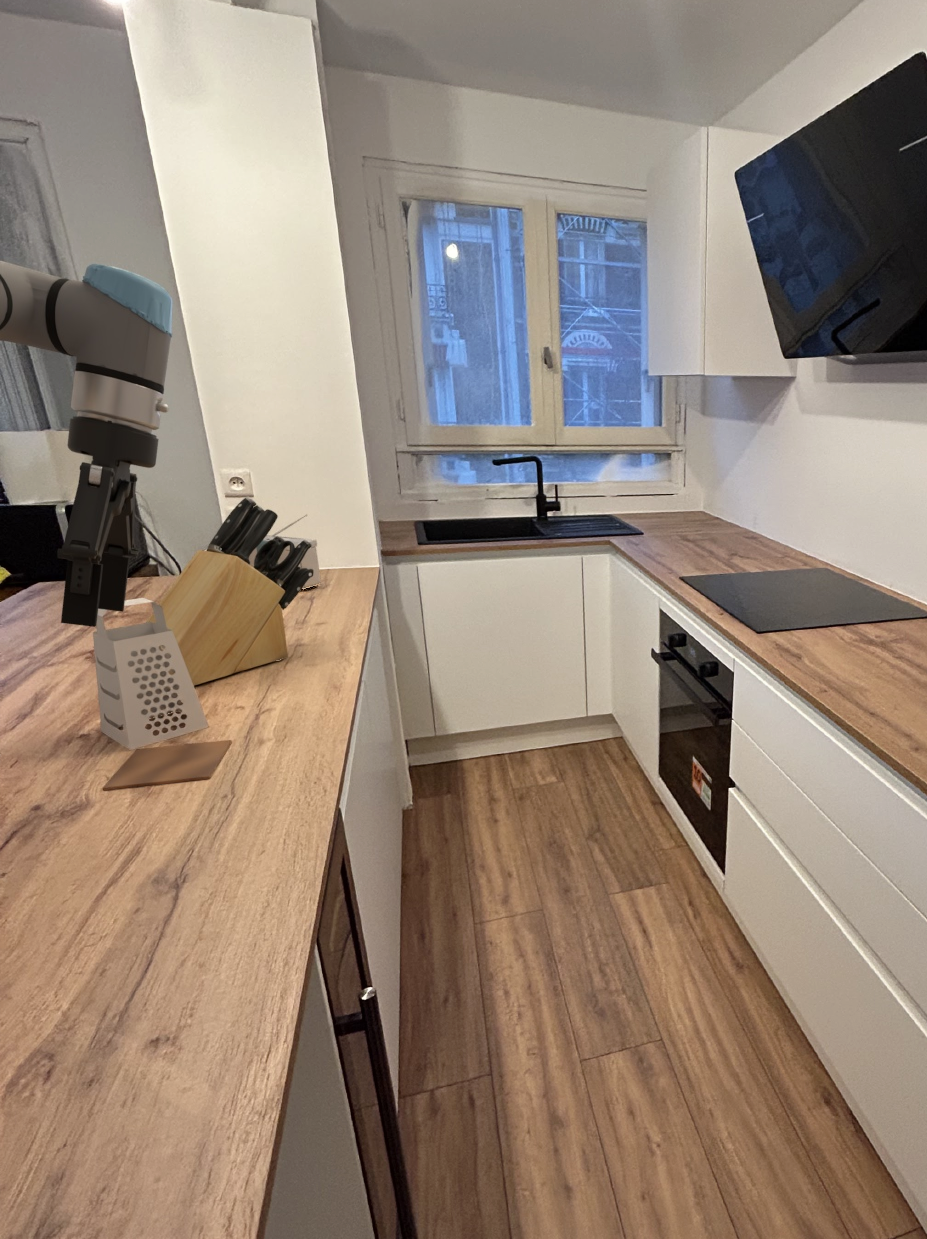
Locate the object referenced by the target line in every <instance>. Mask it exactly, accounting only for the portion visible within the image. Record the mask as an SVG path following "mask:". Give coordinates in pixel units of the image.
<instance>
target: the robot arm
mask: <svg viewBox="0 0 927 1239" xmlns="http://www.w3.org/2000/svg"><path fill="white" fill-rule="evenodd" d="M173 304H174V303H173V298H172V296H171V295H170V293H169V292H168V290H166V289H165V288H164V287H163V286H162V285H160V284H159V283H157V282H155V281H153V280H151V279H149V278H148V277H145V276H143V275H141V274H138V273H135V272H132V271H130V270H127V269H124V268H120V267H117V266H113V265H108V264H107V265H105V264H102V263H91V264H89V265H87V267H86V268H85V272H84V275H83V276H82V279H81V280H80V281H79V280H76V279H70V278H65V277H60V276H55V275H52V274H49V273H45V272H42V271H38V270H35V269H32V268H28V267H25V266H21V265H17V264H14V263H11V262H7V261H3V260H0V341H2V342H10V343H14V344H18V345H23V346H28V347H32V348H37V349H41V350H46V351H49V352H50V351H51V352H55V353H58V354H62V355H64V356H65V355H66V356H70V357H75V358H76V360H75V368H74V369H75V371H74V375H73V384H72V393H71V402H70V408H71V409H72V411H74V412H76V413H77V414H76V416H72V418H70V419H69V426H68V427H69V428H68V436H67V448H68V450H69V451H71V452H72V453H76V454H80V455H84V456H89V457H92V460H91V463H90V462H85V461H82V462H81V464H80V466H79V477H78V484H77V488H76V492H75V495H74V496H75V497H74V500H73V504H72V508H71V511H70V512H71V513H70V516H69V521H68V524H67V529H66V533H65V536H64V542H63V544H62V545H61V548H57V553H56V557H57V559H63V560H66V561H67V562H66V572H65V580H64V591H63V597H62V598H63V599H62V607H61V608H62V610H61V618H60V624H66V625H75V626H83V627H84V626H85V627H93V628H96V624H97V615H98V609H105V610H107V611H115V612H119V613H121V612H122V613H123V612H124V611H125V606H124V604H125V600H126V594H127V586H128V576H129V569H130V568H129V567H130V558H135V559H137V558H138V557H139V551H140V550H139V548H136V544H135V532H136V531H135V530H136V529H135V527H136V526H135V525H136V524H135V522H136V491H137V488H136V487H137V482H138V476H137V473H134V472H133V473H132V472H131V465H132V466H136V467H141V468H147V469H152V468H154V467H155V466H156V464H157V455H158V447H159V438H157V435H156V434H153V433H152V432H153V431H156V430H158V429H160V424H161V414H160V412H161V413H166V414H167V413H168V412H169V410H170V408H169V405H168V404H167V403H164V402H162V401H163V398H164V396H163V395H164V392H165V382H166V376H167V370H168V369H167V368H168V362H169V354H170V347H171V342H172V341H171V339H172V338H173V332H172V325H173V324H172V322H173Z"/></svg>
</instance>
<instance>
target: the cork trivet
mask: <svg viewBox="0 0 927 1239" xmlns="http://www.w3.org/2000/svg"><path fill="white" fill-rule="evenodd" d="M232 744H233V740H232V739H226V740H217V741H216V740H215V741H207V742H206V741H204V742H195V743H185V744H175V745H174V744H173V745H163V746H153V747H144V748H143V747H141V748H136V749H134V751H133V752H132V753H131V754H130V755H129V757H128V758H127V759H126V760H125V761H124V763H123V764H121V766H120V767H119V768H118V769H117V771H116V772H115V773H113V775H112V776H111V777H110V778H109V780H107V782H106V783H105V784H104V785H103V787H102V791H109V790H110V791H111V790H119V789H120V790H121V789H128V788H138V787H147V786H157V785H165V784H175V783H181V782H182V783H183V782H192V781H201V780H209V779H211V778H212V777H213V774H214V773H215V771H216V769H217V768H218V767H219V765H220V763H221V761H222V760H223V758H224V756H225V755H226V753H227V752H228V749H229V748H230V746H231V745H232ZM222 757H223V758H222ZM221 759H222V760H221Z"/></svg>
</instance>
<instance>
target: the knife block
mask: <svg viewBox="0 0 927 1239" xmlns="http://www.w3.org/2000/svg"><path fill="white" fill-rule="evenodd" d="M278 518H279V516H278V514H277V513H276V512H275V511H273V510H271V509H269V508H268V509H264V508H263V507H261V506H260V505H258V504H257V503H256V501H255V500H253V499H252V498H251V497H250V496H246V497H244V498H243V499H242V500H241V501H239V502H238V503H237V505H236V506H235V507H234V508H233V509H232V511H231V512H230V513H229V514H228V516H227V517H226V518H225V519H224V521H223V523H221V526H220V527H219V528H218V530H217V531H216V533H215V535H214V536H213V537H212V539H211V541H210V542H209V544H208V546H207V548H206V550H202V549H198V550H197V551H195V553H194V555H193V556H192V557H191V558H190V560H189V561H188V563H187V564H186V565H185V567H184V568H183V570H182V571H181V572H180V574H179V575H178V576H177V578H176V580H174V582H173V583H172V585H171V587H170V588H169V589H168V590H167V592H166V593H165V595H164V596H163V597H162V599H161V600H160V602H159V603H158V605H160V606H161V607H162V608H163V612H164V617H165V622H166V626H167V628H168V629H170V630H172V631H173V633H174V636H175V638H176V641H177V644H178V646H179V649H180V651H181V654H182V657H183V659H184V662H185V665H186V667H187V670H188V672H189V675H190V678H191V680H192V683H193V685H194V686H197V685H201V684H204V683H208V682H210V681H213V680H217V679H220V678H224V677H227V676H230V675H233V674H236V673H239V672H243V671H245V670H250V669H252V668H256V667H259V666H262V665H266V664H269V663H273V662H277V661H276V660H280V659H282V660H283V659H286V658H288V657H289V653H288V645H287V639H286V638H287V637H286V630H285V623H284V615H283V611H284V610H285V609H287V608H288V606H290V604H291V603H292V602H293V601H294V599H295V598H296V597H297V596H298V595H299V593H300V592H301V591H302V590H301V589H302V588H303V586H304V585H305V583H306V582H307V581H308V579H309V578H311V577H312V576H313V573H314V570H313V569H307V568H301V569H300V567H298V566H299V564H300V563H301V561H302V559H303V558H304V556H305V554H306V552H307V551H308V549H309V548H310V547H312V545H311V544H310V543H309V542H308V541H306V540H303V541H302V542H301V543H300V544H298V545H297V547H296V548H295V546H294V544H293V543H292V542H291V541H284V540H283V539H282V538H281V537H279V536H280V535H275V536H276V537H275V538H274V539H273V540H270V541H268V542H267V543H265V544H264V545H263V546H262V547H261V548H260V550H259V551H258V553H257V554H256V556H255V559H254V567H252V566H250V561H249V556H250V554H251V553H252V552H253V550H254V549H255V548H256V547H257V546H258V545H259V544H260V543H261V542H262V541H263V539H264V538H265V537H266V535H269V533H270V532H271V529H272V528H273V527H274V525H275V523H276V521H277V519H278ZM287 546H290V552H289V554H288V556H287V557H286V558H285V559H284V560H283V561H282V562H281V563H280V564H277V562H278V560H279V558H280V556H281V555H282V553H283V551H284V549H285V548H286V547H287ZM276 564H277V565H276ZM262 572H266V573H267V572H268V573H267V575H266V573H262ZM265 575H266V576H265ZM147 622H153V623H155V624H156V621H155V616H154V612H153V611H152V613H151V614H150V616H148V619H147V620H146V622H145V623H147ZM160 646H161V645H160ZM161 649H162V650H163V651H164V650H165V649H164V648H163V647H162V646H161ZM168 654H170V653H168ZM280 661H281V660H280ZM169 672H170V673H171V674H172V675H173V674H174V673H172V672H171V671H170V670H169Z"/></svg>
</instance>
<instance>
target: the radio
mask: <svg viewBox="0 0 927 1239" xmlns="http://www.w3.org/2000/svg"><path fill="white" fill-rule="evenodd" d="M305 517H308V514H307V513H306V514H305V515H303V516H301V517H300V518H299V519H297V520H295V521H293V522H291V523H289V524H288V525H287V526H285V527H282V529H279V531H277V532H275V533H274V534H271V535H269V534H267V535H266V537H265V538H264V539H263V541H262V542H261V543H260V544H259V545H258V546H257V547H256V548H255V549H254V550H253V552H252V553H251V554H250V556H249V561H250V566H252V567H254V559H255V556H256V554H257V553H258V551H259V550H260V548H261V547H262V546H263V545H264V544H265V543H267V542H268V541H270V540H273V539H274V538H275V537H276V536H279V537H281V538H282V539H283V540H284V541H291V542H292V543H293V544H294V546H295V548H296V547H297V545H298V544H300V543H301V542H302V541H303V540H306V541H308V542H309V543H310V544H311V545H312V547H310V548H309V549H308V551H307V552H306V554H305V556H304V558H303V559H302V561H301V563H300V564H299V566H298V567H300V569H301V568H307V569H313V570H314V573H313V576H312V577H311V578H309V579H308V581H307V582H306V583H305V585H304V586H303V588H306V587H309V586H313V585H316V584H319V583H320V584H322V579H321V578H322V577H321V572H320V565H319V558H318V550H317V547H318V542H317V539H311V538H301V537H291V536H282V535H279V534H281V533H282V532H283V531H286V530H287V529H289V528H290V527H292V526H293V525H294V524H296V523H297V522H300V521H301V520H302V519H304V518H305ZM289 552H290V546H287V547H286V548H285V549H284V551H283V553H282V555H281V556H280V558H279V560H278V562H277V564H280V563H281V562H282V561H283V560H284V559H285V558H286V557H287V556H288V554H289ZM277 564H276V565H277ZM262 573H266V572H262ZM267 573H268V572H267ZM267 573H266V575H267ZM266 575H265V576H266Z"/></svg>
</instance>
